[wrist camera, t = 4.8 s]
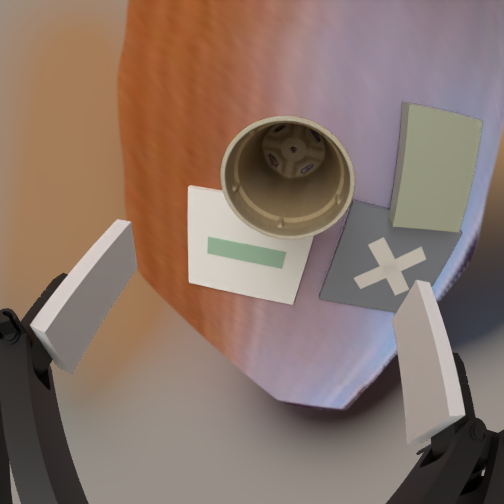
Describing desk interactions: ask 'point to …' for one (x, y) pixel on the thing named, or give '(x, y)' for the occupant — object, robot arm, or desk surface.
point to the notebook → (434, 168)
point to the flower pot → (287, 178)
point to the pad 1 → (240, 252)
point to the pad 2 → (383, 259)
